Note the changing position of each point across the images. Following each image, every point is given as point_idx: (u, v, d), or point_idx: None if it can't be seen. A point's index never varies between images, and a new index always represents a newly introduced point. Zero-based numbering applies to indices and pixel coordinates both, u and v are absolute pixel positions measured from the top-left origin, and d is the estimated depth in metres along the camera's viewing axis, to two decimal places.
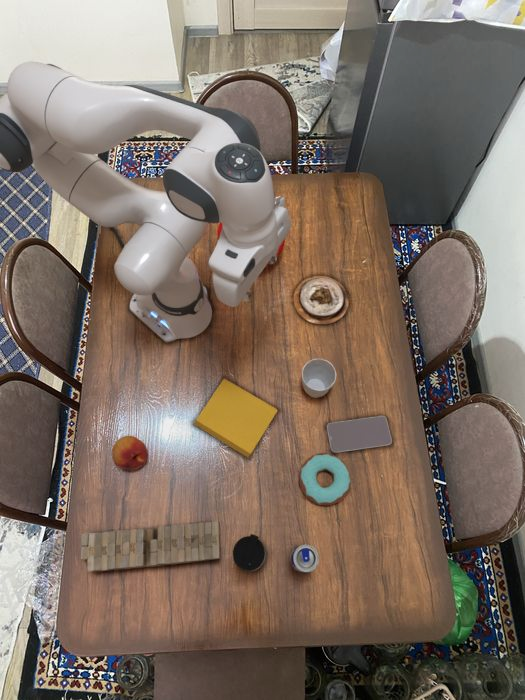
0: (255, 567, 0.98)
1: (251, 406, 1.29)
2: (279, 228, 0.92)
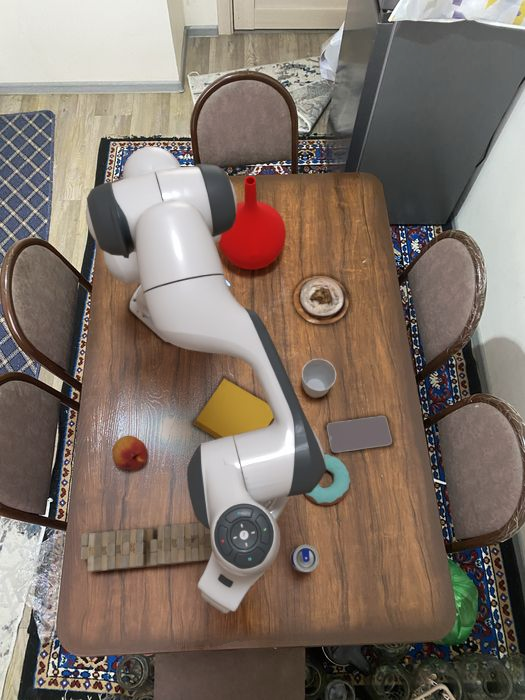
0: None
1: (251, 406, 1.29)
2: None
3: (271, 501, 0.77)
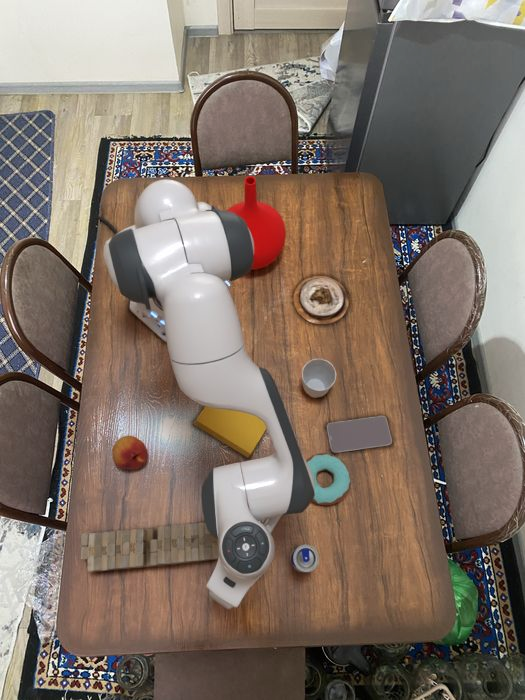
0: None
1: None
2: None
3: None
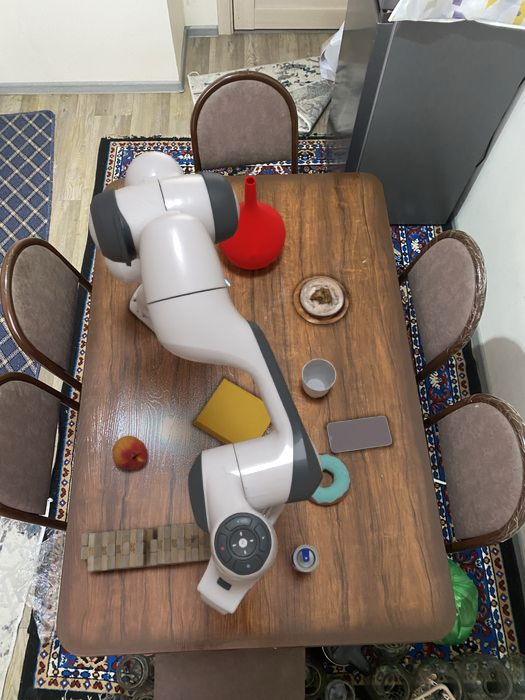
0: None
1: (251, 406, 1.29)
2: None
3: (269, 506, 0.79)
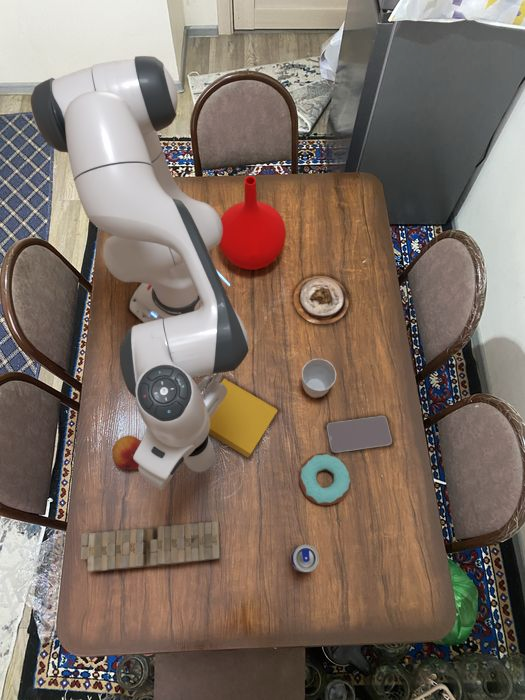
0: (195, 450, 0.89)
1: (251, 406, 1.29)
2: (213, 403, 0.87)
3: (204, 387, 0.83)
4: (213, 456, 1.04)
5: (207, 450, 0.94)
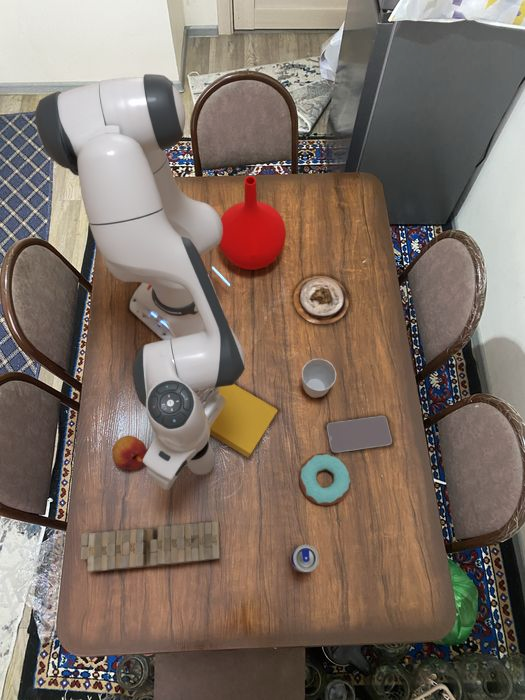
0: (197, 454, 1.00)
1: (251, 406, 1.29)
2: (213, 412, 0.98)
3: (205, 398, 0.94)
4: (213, 460, 1.15)
5: (208, 454, 1.05)
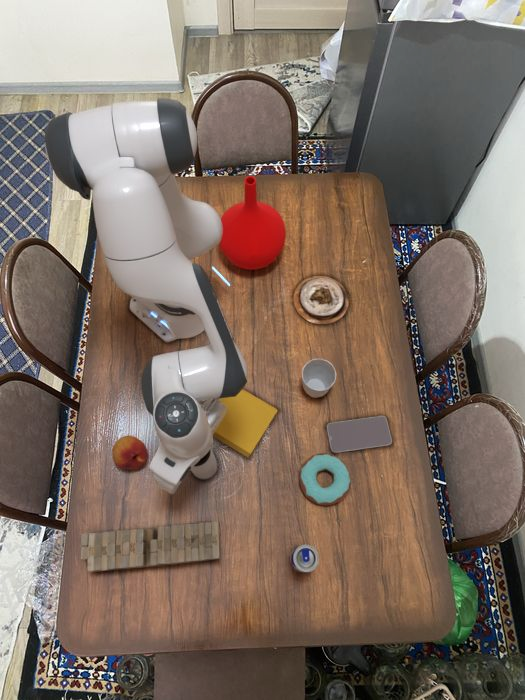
0: (200, 461, 1.05)
1: (251, 406, 1.29)
2: (215, 420, 1.03)
3: (208, 407, 0.99)
4: (215, 465, 1.20)
5: (210, 460, 1.10)
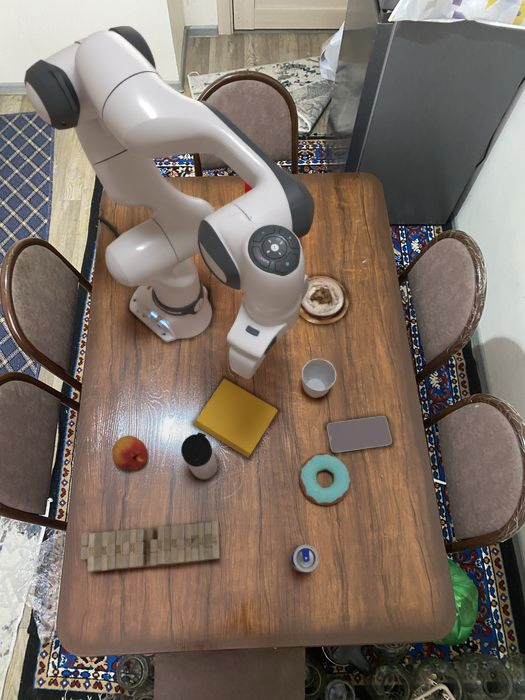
0: (201, 461, 1.05)
1: (251, 406, 1.29)
2: None
3: None
4: (216, 465, 1.20)
5: (211, 461, 1.10)
